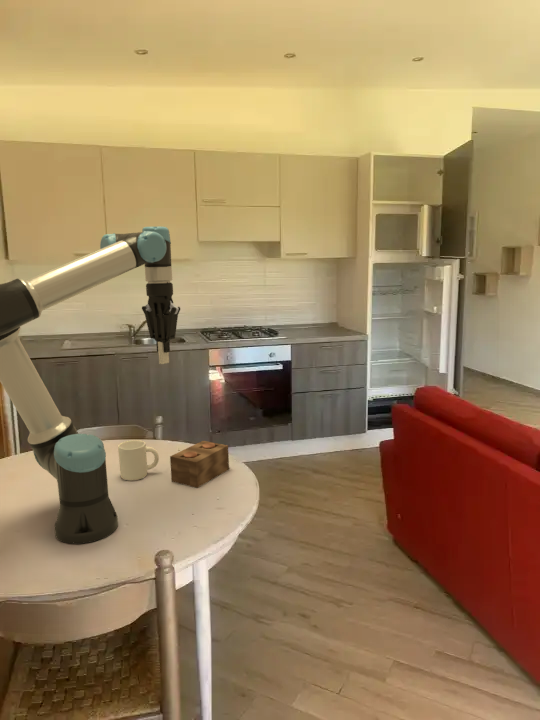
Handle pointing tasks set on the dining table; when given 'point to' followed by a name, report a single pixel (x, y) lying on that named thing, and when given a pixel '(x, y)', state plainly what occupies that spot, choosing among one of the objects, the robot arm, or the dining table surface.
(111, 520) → the robot arm
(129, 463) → the mug
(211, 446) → the peg far
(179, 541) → the dining table surface
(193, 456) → the peg near
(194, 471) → the socket block
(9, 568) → the dining table surface
